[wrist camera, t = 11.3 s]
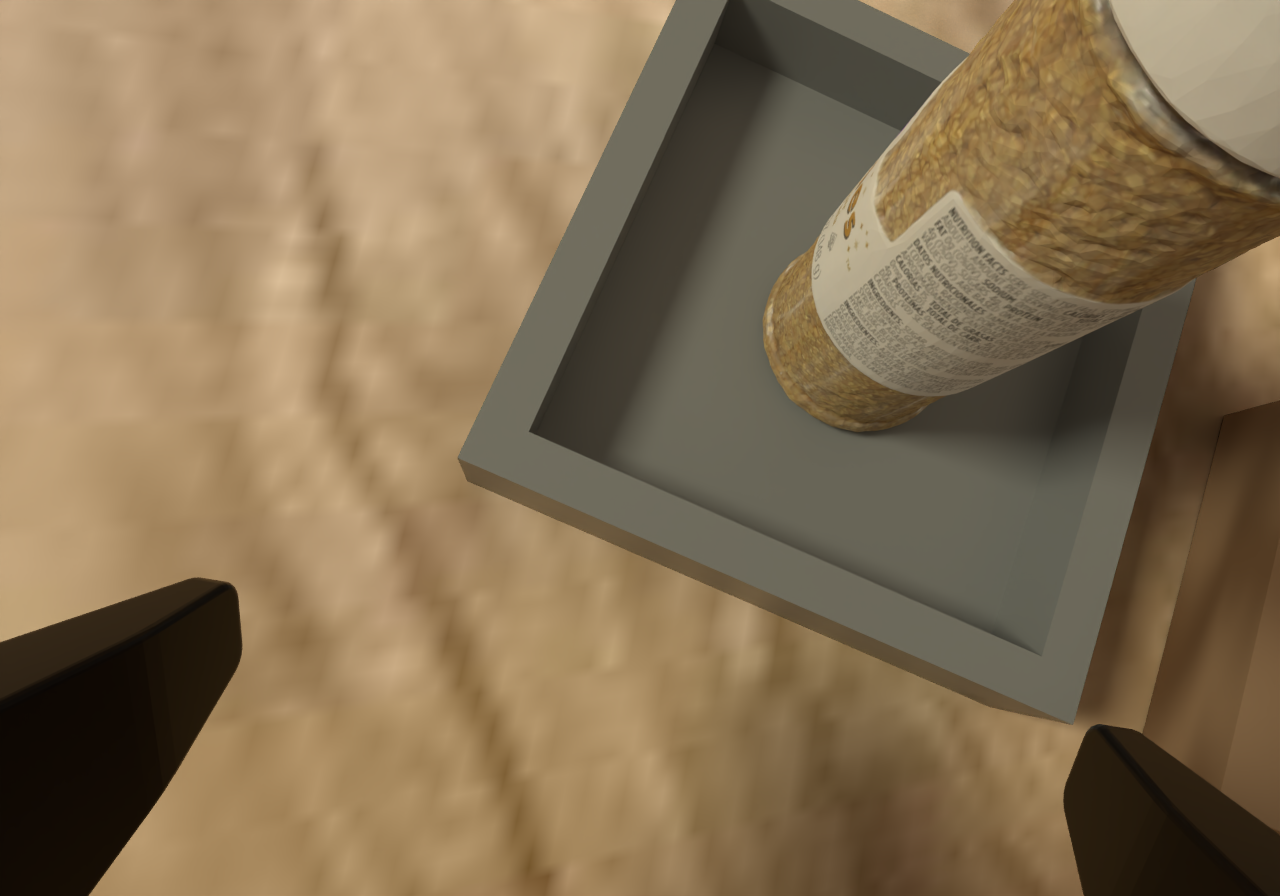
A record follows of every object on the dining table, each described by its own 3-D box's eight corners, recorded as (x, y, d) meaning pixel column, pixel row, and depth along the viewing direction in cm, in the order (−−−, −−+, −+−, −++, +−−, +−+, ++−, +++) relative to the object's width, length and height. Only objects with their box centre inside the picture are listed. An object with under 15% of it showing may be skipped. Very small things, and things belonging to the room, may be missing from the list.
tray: (989, 706, 19) (1072, 724, 16) (467, 480, 19) (457, 457, 16) (1132, 232, 22) (1224, 175, 19) (684, 20, 22) (709, -71, 19)
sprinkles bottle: (833, 212, 20) (1428, -532, 7) (980, 336, 20) (1861, -177, 7) (715, 349, 19) (1153, -223, 6) (870, 480, 19) (1663, 199, 6)
